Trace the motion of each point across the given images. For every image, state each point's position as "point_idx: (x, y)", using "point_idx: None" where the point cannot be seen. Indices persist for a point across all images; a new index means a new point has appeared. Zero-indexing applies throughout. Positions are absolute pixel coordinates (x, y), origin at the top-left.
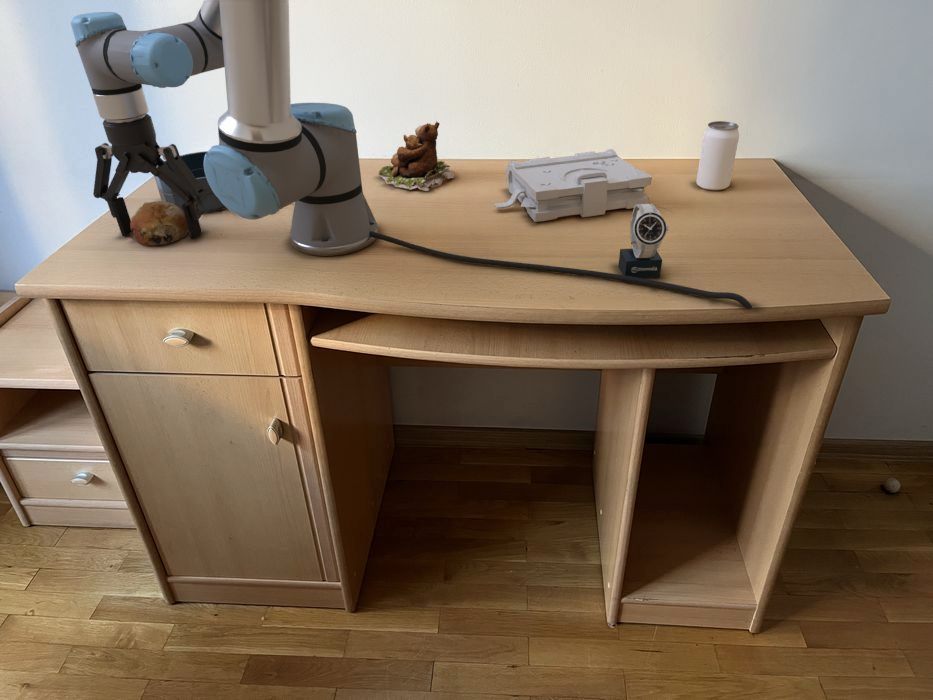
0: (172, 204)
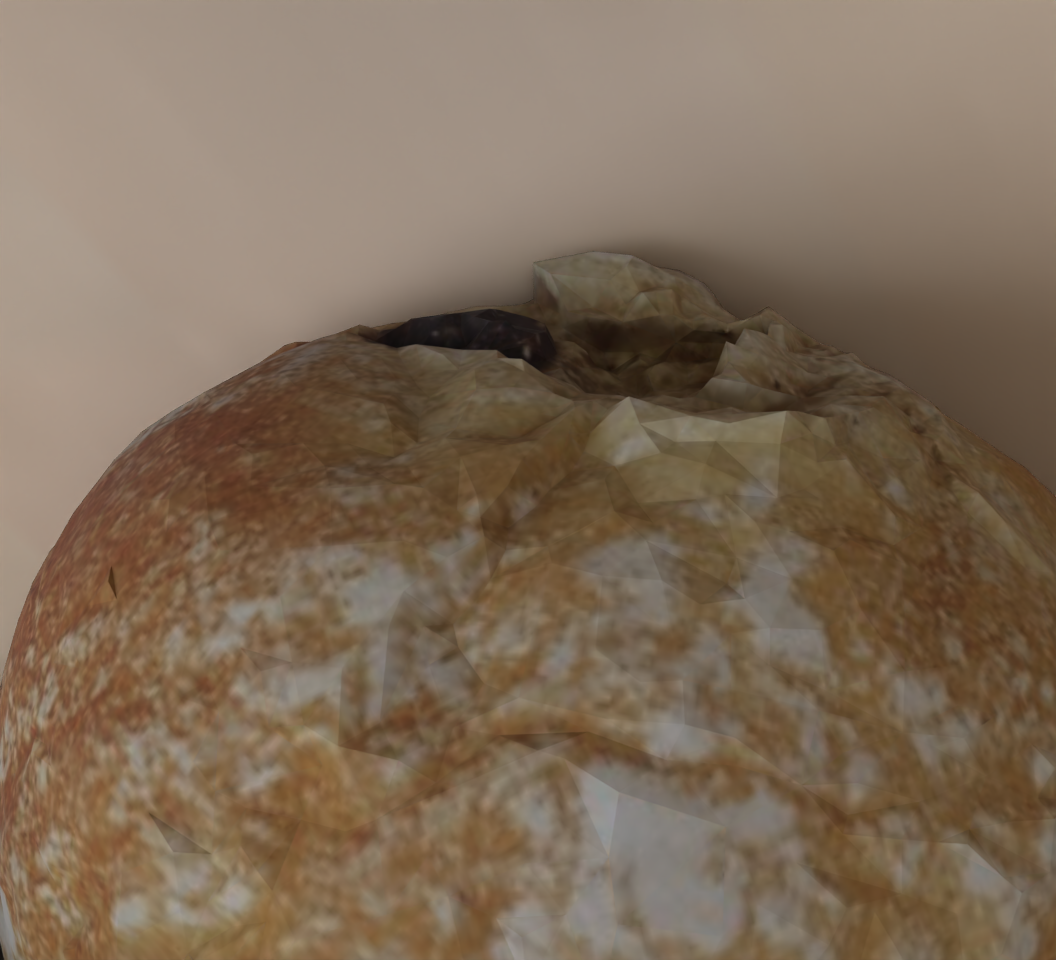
0: (1016, 930)
